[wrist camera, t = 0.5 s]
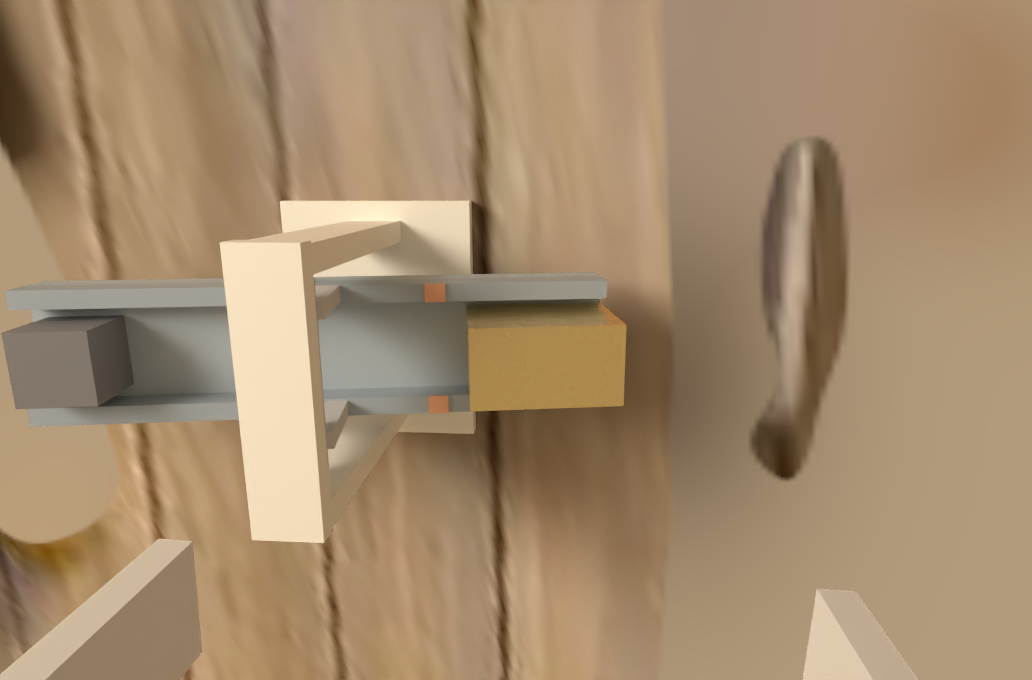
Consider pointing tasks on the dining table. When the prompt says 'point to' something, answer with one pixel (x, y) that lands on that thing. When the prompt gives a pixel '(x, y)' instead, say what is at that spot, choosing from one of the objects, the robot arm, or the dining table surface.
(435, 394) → the beam
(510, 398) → the block
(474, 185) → the dining table surface
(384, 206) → the stand
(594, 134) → the dining table surface
